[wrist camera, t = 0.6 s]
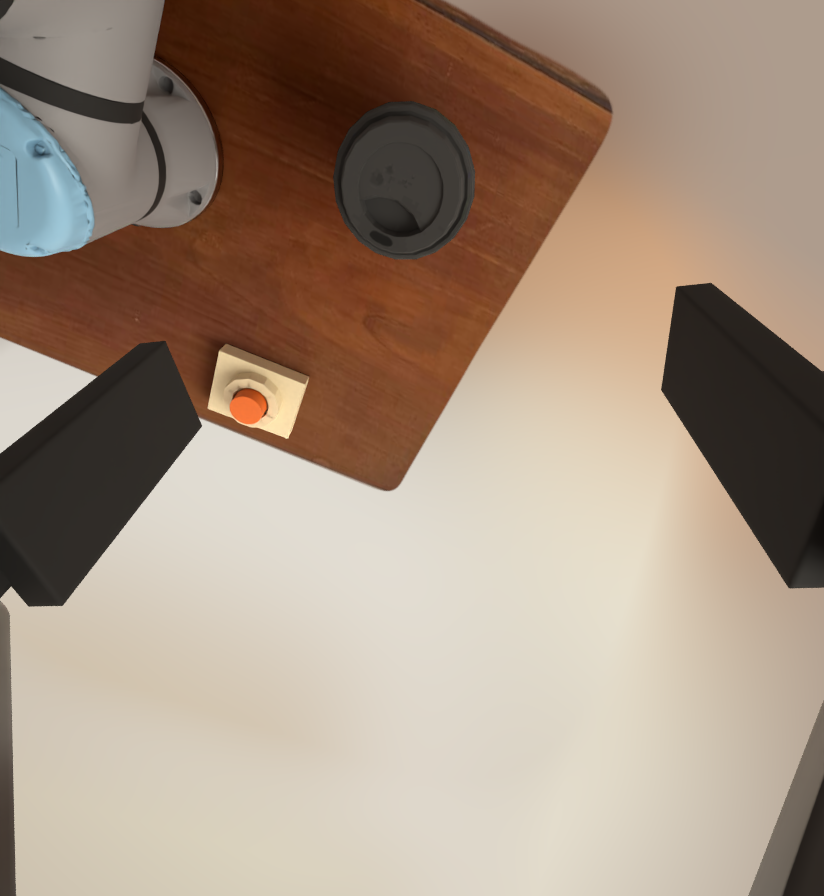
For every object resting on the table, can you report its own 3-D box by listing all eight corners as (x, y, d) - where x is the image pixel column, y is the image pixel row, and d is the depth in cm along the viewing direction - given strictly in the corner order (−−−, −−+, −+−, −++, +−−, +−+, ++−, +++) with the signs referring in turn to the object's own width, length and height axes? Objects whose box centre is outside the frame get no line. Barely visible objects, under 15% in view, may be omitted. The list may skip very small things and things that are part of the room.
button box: (213, 400, 70) (201, 415, 66) (225, 343, 65) (212, 356, 61) (292, 430, 71) (283, 446, 68) (309, 376, 66) (301, 391, 63)
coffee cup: (343, 195, 54) (307, 227, 41) (386, 72, 48) (359, 68, 35) (441, 246, 56) (434, 291, 44) (495, 134, 50) (504, 150, 37)
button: (232, 409, 66) (226, 417, 64) (238, 383, 64) (232, 391, 62) (263, 420, 66) (257, 429, 65) (270, 395, 64) (265, 403, 63)
